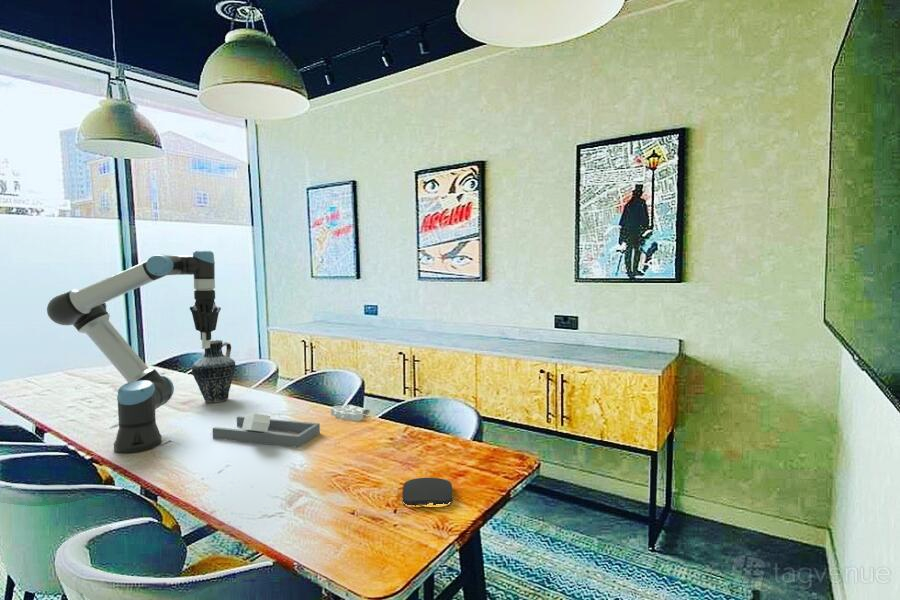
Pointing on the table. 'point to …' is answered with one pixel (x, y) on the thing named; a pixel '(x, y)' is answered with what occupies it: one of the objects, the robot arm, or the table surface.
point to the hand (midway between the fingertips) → (206, 348)
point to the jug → (215, 372)
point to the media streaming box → (427, 491)
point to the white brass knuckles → (349, 412)
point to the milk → (256, 422)
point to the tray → (271, 438)
